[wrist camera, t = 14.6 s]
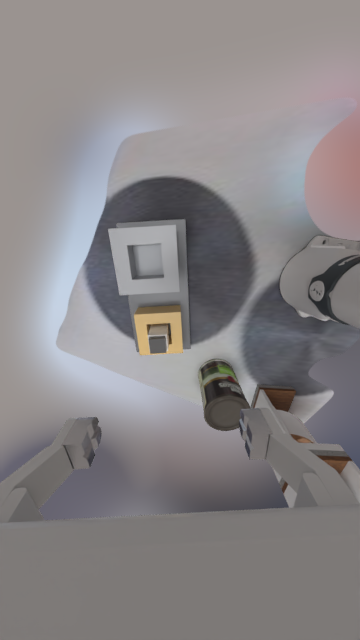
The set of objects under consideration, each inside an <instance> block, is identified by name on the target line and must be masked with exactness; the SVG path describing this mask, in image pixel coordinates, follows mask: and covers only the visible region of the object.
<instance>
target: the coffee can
mask: <svg viewBox="0 0 360 640" xmlns="http://www.w3.org/2000/svg"><path fill="white" fill-rule="evenodd" d="M198 378H199V382H200V389H201V395H202V402H203V408H204V418H205V421H206V422H207V424H209V426H211V427H212V428H214V429H217V430H221V431H229V430H234V429H236V428H239V420H240V419H241V416H240V410H241V409H250V406H249V404H248V402H247V401H246V398H245V396H244V394H243V392H242V389H241V387H240V385H239V383H238V380H237V378H236V376H235V373H234V371H233V368H232V366H231V365H230V364H229V363H228V362H226V361H224V360H220V359H214V360H210V361H208V362H206V363H204V364H203V365H202V366H201V368H200V369H199V372H198Z"/></svg>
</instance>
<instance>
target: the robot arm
mask: <svg viewBox="0 0 360 640" xmlns="http://www.w3.org/2000/svg"><path fill="white" fill-rule="evenodd" d="M323 241H324V244H323V243H322V242H323ZM280 292H281V295H282V297H283V299H284V300H285V301H286V302H287V303H288V304H290V305H291V306H293V307H294V308H295V309H296V311H297V313H298V314H299V316H301V317H309V316H313V317H315V318H318V319H320V320H323V321H327V320H329V319H331V320H333V321H336V322H339V323H342V324H347V325H352V326H354V327H356V328H358V329H360V242H357V241H351V240H345V239H339V238H333V237H327V236H315V237H314V238H313V239H312V240H311V241H310V243H309V244H308V245H307V247H306V248H305V249H303V250H302V251H301V252H299V253H298V254H296V255H295V256H294V257H293V258H292V259H291V260H290V261H289V262H288V263H287V265H286V266H285V268H284V270H283V272H282V275H281V278H280ZM240 416H241V419H240V420H239V428H240V433H241V436H242V439H243V440H244V441H245V448H246V451H247V454H248V457H249V460H253V459H254V460H255V459H266V461H267V462H268V463H269V464H270V465H271V466H272V467H273V468H274V470H275V471H276V472H277V473H278V474H279V475H280V476H281V477H282V478H283V479H284V480H285V481H286V482H287V483H288V485H289V486H290V487H291V488H292V489H293V490H294V491H295V492H296V493H297V496H296V500H295V503H294V506H293V508H276V509H257V510H237V511H218V512H198V513H178V514H159V515H141V516H121V517H103V518H82V519H63V520H44V519H43V516H42V515H41V513H40V511H39V509H40V508H41V506H42V505H43V504H44V503H45V502H46V501H47V500H48V499H49V497H50V496H51V495H52V494H53V493H54V492H55V491H56V490H57V488H58V487H59V486H60V485H61V484H62V483H63V482H64V481H65V479H66V478H67V477H68V476H69V475H70V474H71V473H72V472H73V469H84V468H90V467H91V464H92V462H93V459H94V456H95V453H94V450H95V449H96V448H97V447H98V446H99V444H100V440H101V428H100V427H99V426H98V422H99V421H98V419H97V417H88V418H69V419H68V420H67V421H66V422H65V424H64V426H63V427H62V429H61V431H60V432H59V434H58V435H57V437H56V438H55V440H54V442H53V443H52V445H51V446H48V447H46V448H45V449H44V450H42V451H41V452H40V453H39V454H37V455H36V456H35V457H33V458H32V459H31V460H30V461H28V462H27V463H26V464H24V465H23V466H22V467H20V468H19V469H18V470H17V471H15V472H14V473H13V474H11V475H10V476H9V477H8V478H6V479H5V480H4V481H2V482H1V483H0V640H360V503H359V502H358V500H357V499H356V498H355V496H354V495H353V493H352V492H351V490H350V489H349V488H348V486H347V485H346V483H345V482H344V481H343V479H342V478H341V476H340V475H339V474H338V472H337V471H336V470H335V469H334V468H332V467H331V466H330V465H328V464H327V463H325V462H324V461H323V460H321V459H320V458H319V457H317V456H316V455H315V454H313V453H312V452H311V451H309V450H308V449H306V448H305V447H304V446H302V445H301V444H300V443H298V442H297V441H296V440H294V439H293V438H292V437H290V436H289V435H287V434H283V432H282V430H281V428H280V427H279V425H278V423H277V421H276V420H275V418H274V416H273V415H272V413H271V411H270V409H269V408H251V409H241V410H240Z"/></svg>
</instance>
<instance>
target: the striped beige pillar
mask: <svg viewBox="0 0 360 640" xmlns="http://www.w3.org/2000/svg"><path fill="white" fill-rule="evenodd" d="M295 393H296V391H295V390H294V388H293V387H290V386H273V385H257V388H256V391H255V394H254V398H253V401H252V405H251V408H269V409H270V411H271V413H272V415H273V416H274V418H275V420H276V421H277V423H278V425H279V427H280V428H281V430H282V432H283V434H287V435H289V436H290V437H292V438H293V439H294V440H296V441H297V442H298V443H300V444H301V445H302V446H304V447H305V448H306V449H308V450H309V451H311V452H312V453H313V454H315V455H316V456H317V457H319V458H320V459H321V460H323V461H324V462H325V463H327V464H328V465H330V466H331V467H332V468H334V469H335V470H336V471H337V472H338V474H339V475H340V476H341V478H342V479H343V481H344V482H345V483H346V485H347V486H348V488H349V489H350V490H351V492H352V493H353V495H354V496H355V498H356V499H357V500H358V502H359V503H360V470H359V468H358V467H357V466H356V465H355V463H354V462H353V461H352V460H351V458H350V457H349V456H348V455H347V454H346V452H345V451H344V450H343V449H342V448H341V446H340V445H338V444H337V445H336V444H317V442H316V441H315V440H314V438H313V437H312V435H311V434H310V433H309V431H308V430H307V428H306V427H305V425H304V424H303V423H302V421H301V420H300V419H299V418H297V417H296V416H295V415H293V414H291V413H289V412H288V411H289V408H290V406H291V403H292V401H293V398H294V395H295ZM251 408H250V409H251ZM272 468H273V467H272ZM273 470H274V468H273ZM274 472H275V475H276V477H277V480H278V482H279V484H280V487H281V489H282V491H283V493H284V496H285V498H286V501H287V503H288V505H289V508H293V506H294V503H295V500H296V496H297V493H296V492H295V491H294V490H293V489H292V488H291V487H290V486H289V485H288V483H287V482H286V481H285V480H284V479H283V478H282V477H281V476H280V475H279V474H278V473H277V472H276V471H275V470H274Z"/></svg>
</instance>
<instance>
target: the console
mask: <svg viewBox="0 0 360 640" xmlns="http://www.w3.org/2000/svg"><path fill="white" fill-rule="evenodd" d="M116 225H117V228H115V229H108V232H109V238H110V243H111V249H112V255H113V260H114V266H115V272H116V277H117V283H118V289H119V294H120V295H128V300H129V306H130V313H131V319H132V325H133V331H134V338H135V344H136V350H137V352H140V355H152V354H150V350H149V342H148V333H149V330H150V327H151V324H163V323H169V330H170V335H169V347H168V351H166V353H156V354H170V353H183V349H191V348H190V323H189V298H188V273H187V248H186V223H185V219H178V220H162V221H145V222H128V223H116Z"/></svg>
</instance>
